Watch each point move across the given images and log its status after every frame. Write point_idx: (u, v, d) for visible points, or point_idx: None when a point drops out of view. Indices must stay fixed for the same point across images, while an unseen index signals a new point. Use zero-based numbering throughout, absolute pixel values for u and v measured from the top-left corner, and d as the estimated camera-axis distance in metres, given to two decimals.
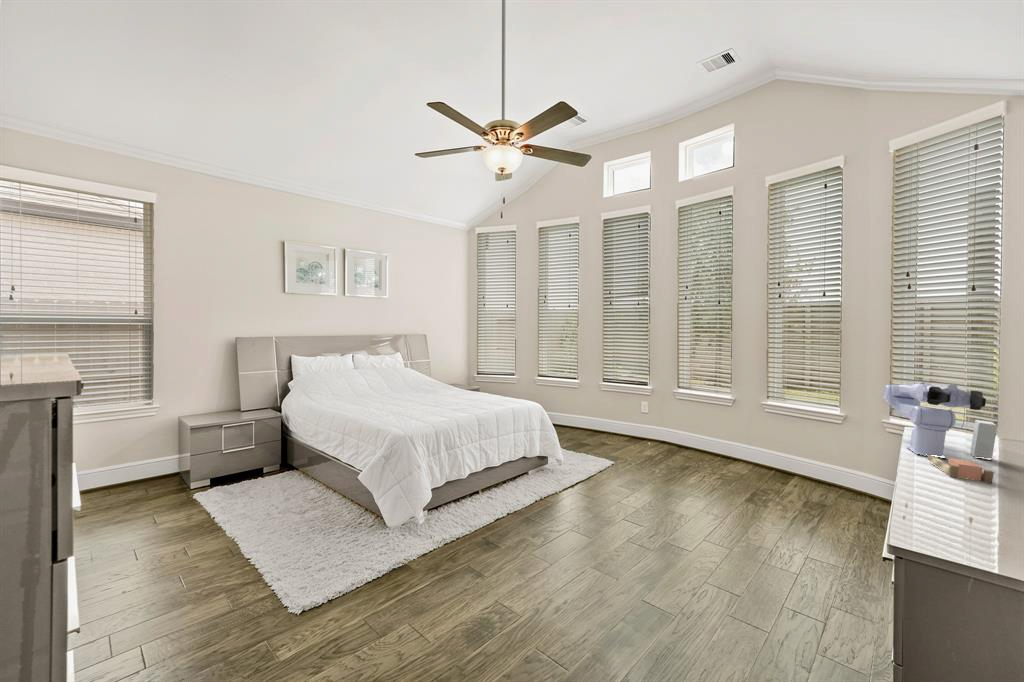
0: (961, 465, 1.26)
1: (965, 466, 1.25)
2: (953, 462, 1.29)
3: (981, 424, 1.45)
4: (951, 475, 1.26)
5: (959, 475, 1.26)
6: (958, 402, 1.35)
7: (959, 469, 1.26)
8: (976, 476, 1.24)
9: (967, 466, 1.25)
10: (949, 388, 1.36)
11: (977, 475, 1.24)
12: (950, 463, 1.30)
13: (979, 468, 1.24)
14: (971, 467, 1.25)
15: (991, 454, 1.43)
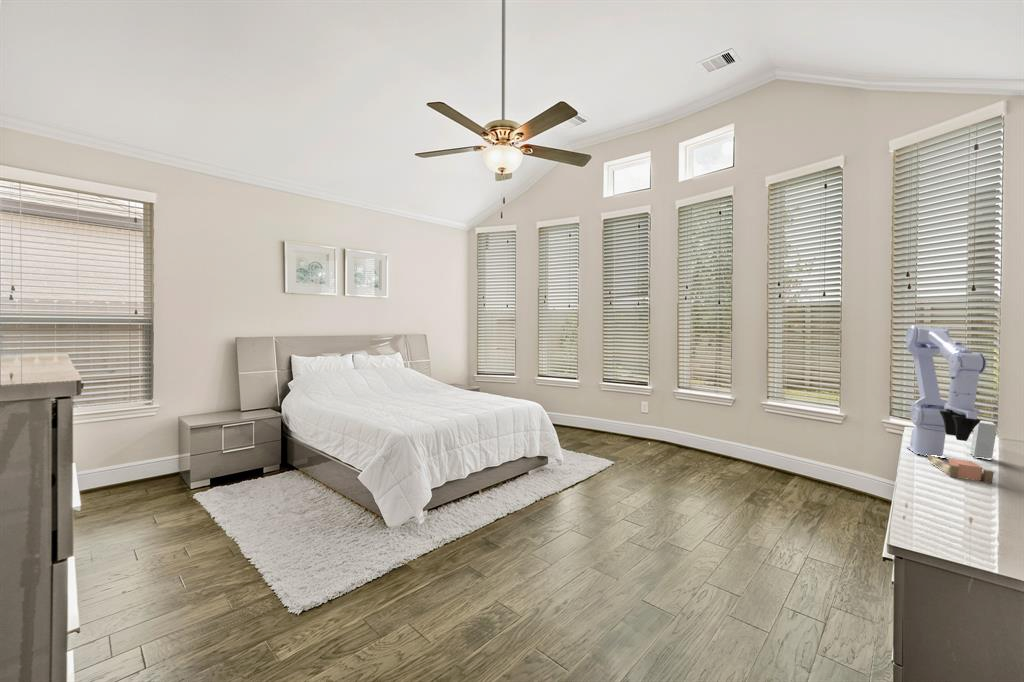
0: (961, 465, 1.26)
1: (965, 466, 1.25)
2: (953, 462, 1.29)
3: (981, 424, 1.45)
4: (951, 475, 1.26)
5: (959, 475, 1.26)
6: None
7: (959, 469, 1.26)
8: (975, 476, 1.24)
9: (967, 466, 1.25)
10: None
11: (977, 475, 1.24)
12: (950, 463, 1.30)
13: (979, 468, 1.24)
14: (971, 467, 1.25)
15: (991, 454, 1.43)
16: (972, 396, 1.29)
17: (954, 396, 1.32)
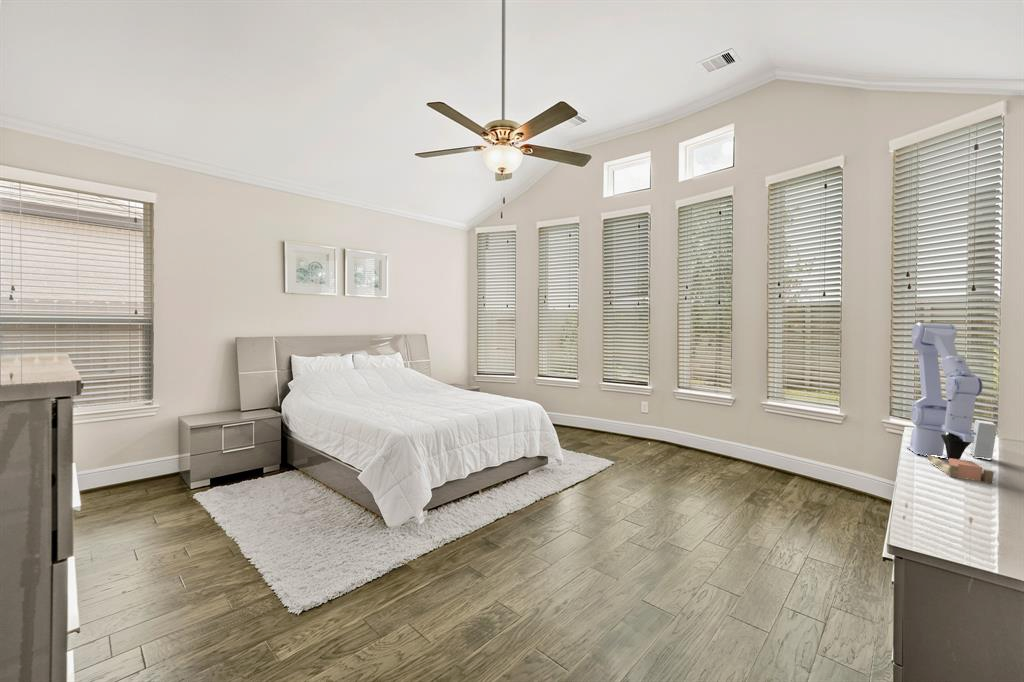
0: (961, 465, 1.26)
1: (965, 466, 1.25)
2: (953, 462, 1.29)
3: (981, 424, 1.45)
4: (951, 475, 1.26)
5: (958, 475, 1.26)
6: None
7: (958, 469, 1.26)
8: (975, 476, 1.24)
9: (967, 466, 1.25)
10: None
11: (977, 475, 1.24)
12: (950, 463, 1.30)
13: (979, 468, 1.24)
14: (971, 467, 1.25)
15: (991, 454, 1.43)
16: (969, 419, 1.30)
17: (951, 419, 1.32)
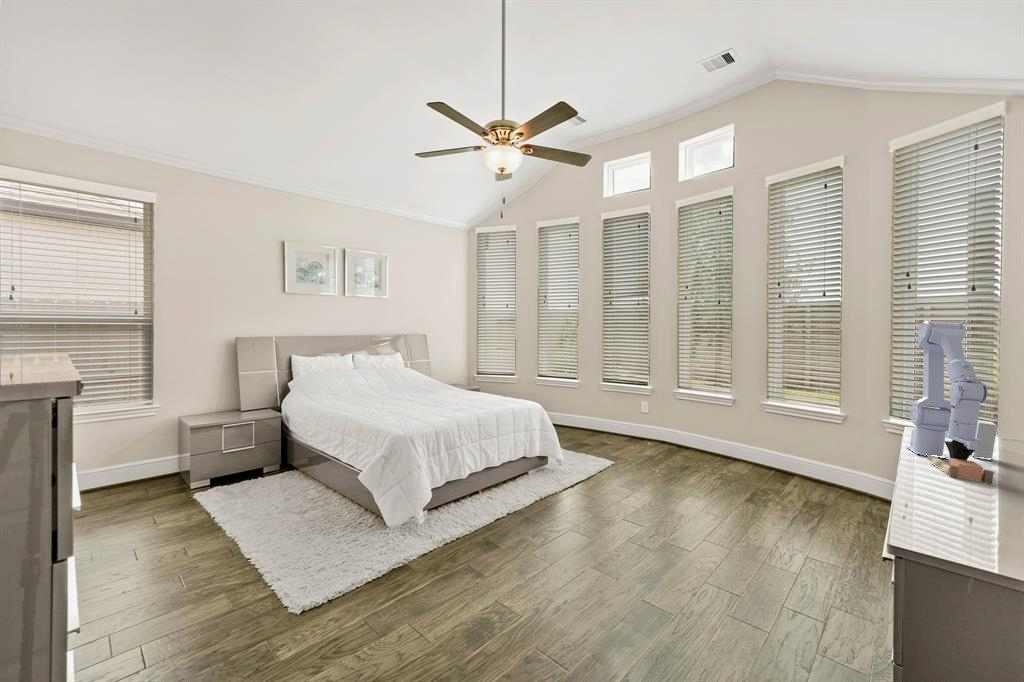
0: (961, 465, 1.25)
1: (965, 466, 1.25)
2: (954, 462, 1.28)
3: (981, 424, 1.45)
4: (951, 475, 1.26)
5: (959, 475, 1.26)
6: None
7: (959, 469, 1.25)
8: (976, 475, 1.24)
9: (967, 466, 1.25)
10: None
11: (977, 475, 1.24)
12: (951, 463, 1.30)
13: (979, 468, 1.24)
14: (971, 467, 1.24)
15: (991, 454, 1.43)
16: (973, 426, 1.27)
17: (955, 425, 1.30)
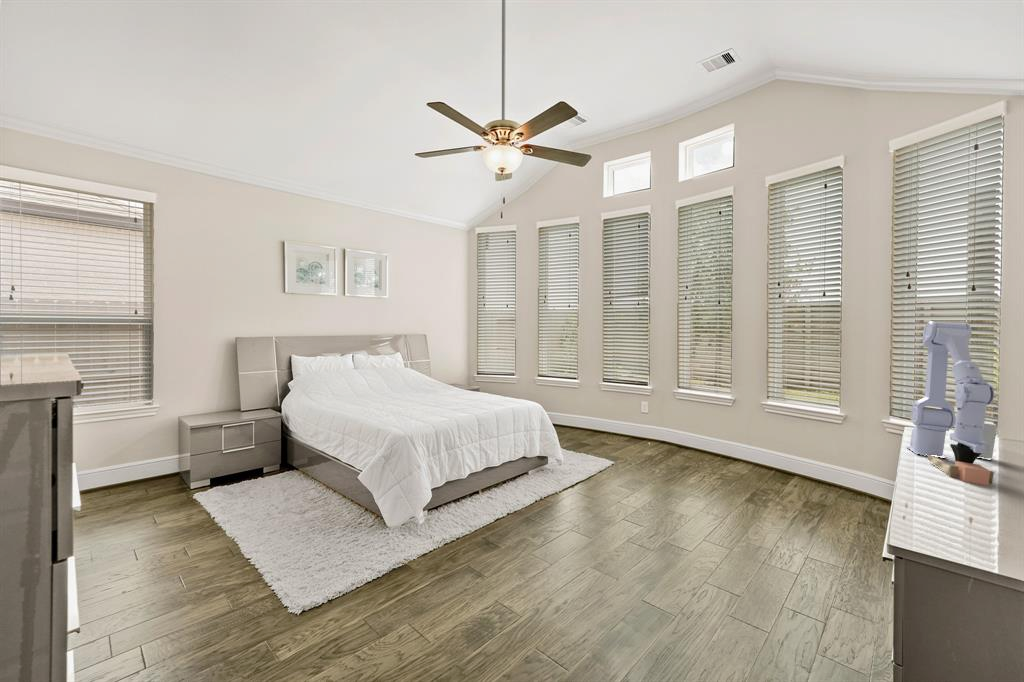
0: (968, 468, 1.22)
1: (972, 469, 1.22)
2: (960, 465, 1.25)
3: None
4: (951, 475, 1.26)
5: (966, 479, 1.22)
6: None
7: (966, 472, 1.22)
8: (983, 479, 1.21)
9: (974, 469, 1.22)
10: None
11: (984, 479, 1.21)
12: None
13: (986, 471, 1.21)
14: (978, 470, 1.21)
15: (991, 454, 1.43)
16: (979, 429, 1.24)
17: (961, 428, 1.27)
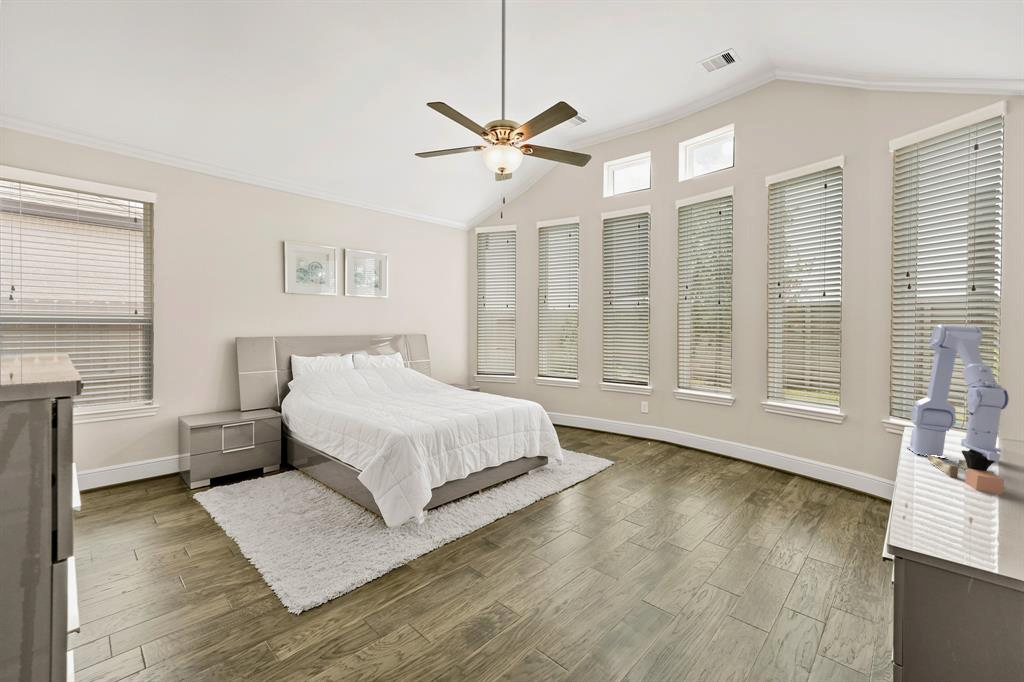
0: (980, 476, 1.16)
1: (985, 478, 1.16)
2: (971, 473, 1.19)
3: None
4: (951, 475, 1.26)
5: (978, 487, 1.16)
6: None
7: (978, 481, 1.16)
8: (996, 488, 1.15)
9: (987, 478, 1.16)
10: None
11: (998, 487, 1.15)
12: (968, 474, 1.21)
13: (1000, 480, 1.14)
14: (991, 479, 1.15)
15: None
16: (993, 435, 1.18)
17: (973, 434, 1.21)
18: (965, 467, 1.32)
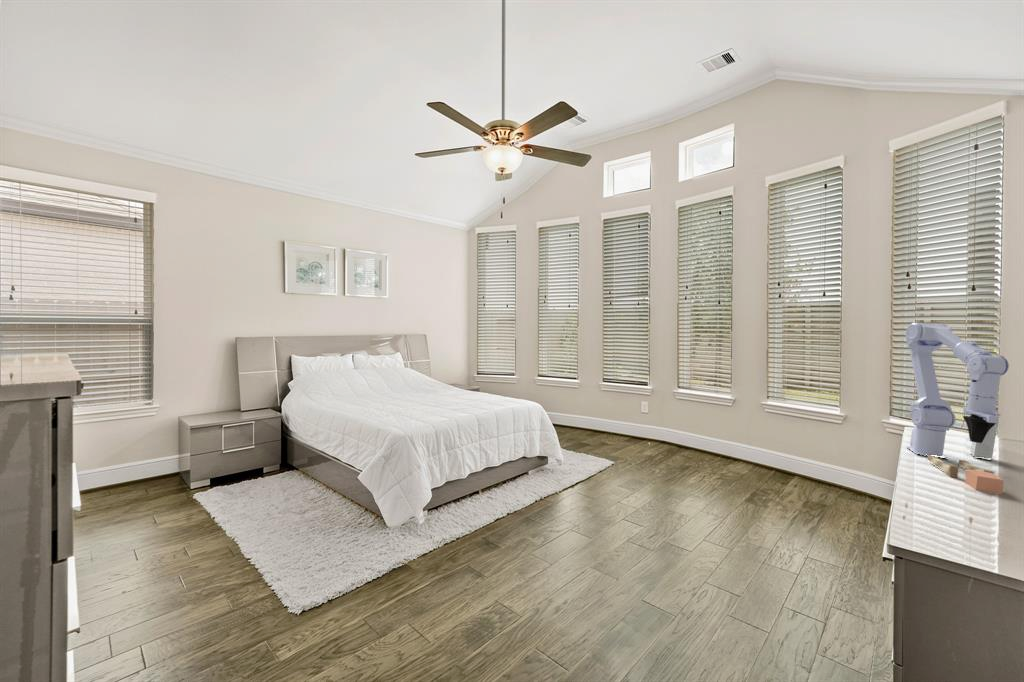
0: (980, 477, 1.16)
1: (984, 478, 1.16)
2: (971, 474, 1.19)
3: None
4: (951, 475, 1.26)
5: (978, 488, 1.16)
6: None
7: (978, 481, 1.16)
8: (996, 489, 1.15)
9: (987, 478, 1.16)
10: None
11: (998, 488, 1.15)
12: (968, 474, 1.21)
13: (1000, 481, 1.14)
14: (991, 479, 1.15)
15: (991, 454, 1.43)
16: (993, 399, 1.26)
17: (974, 399, 1.28)
18: (965, 467, 1.32)
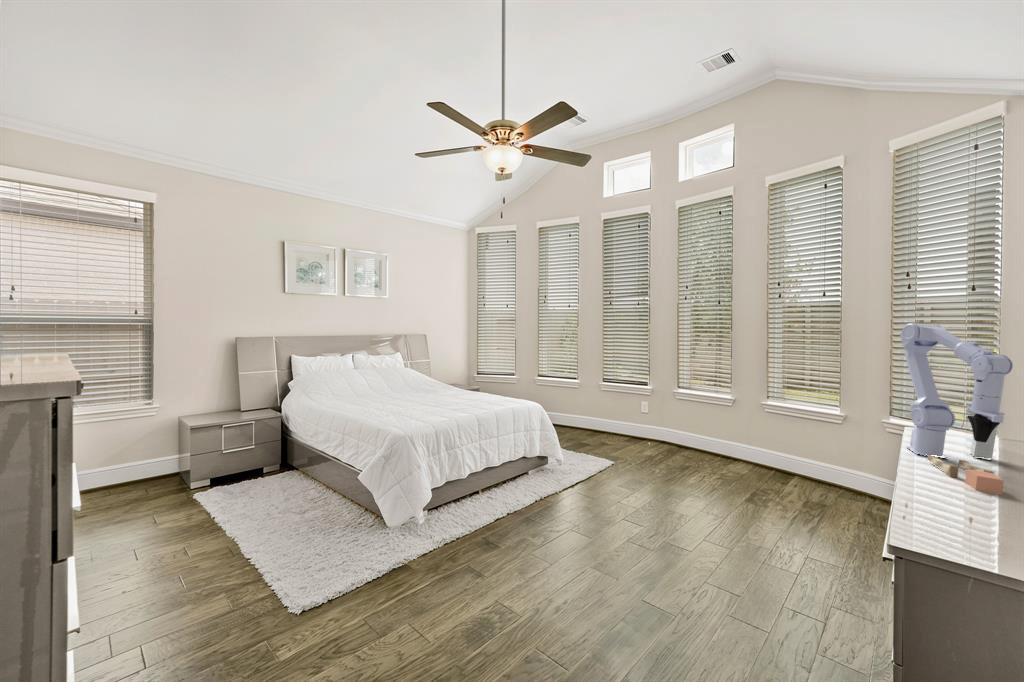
0: (980, 477, 1.16)
1: (984, 478, 1.16)
2: (971, 473, 1.19)
3: None
4: (951, 475, 1.26)
5: (977, 488, 1.16)
6: None
7: (977, 481, 1.16)
8: (996, 489, 1.15)
9: (986, 478, 1.16)
10: None
11: (998, 488, 1.15)
12: (968, 474, 1.21)
13: (1000, 481, 1.14)
14: (991, 479, 1.15)
15: (991, 454, 1.43)
16: (997, 399, 1.26)
17: (978, 399, 1.29)
18: (965, 467, 1.32)
